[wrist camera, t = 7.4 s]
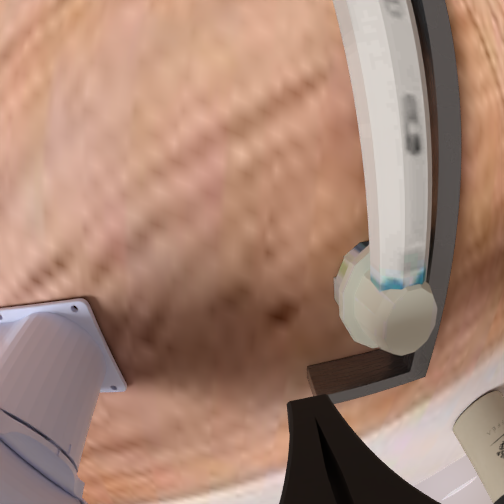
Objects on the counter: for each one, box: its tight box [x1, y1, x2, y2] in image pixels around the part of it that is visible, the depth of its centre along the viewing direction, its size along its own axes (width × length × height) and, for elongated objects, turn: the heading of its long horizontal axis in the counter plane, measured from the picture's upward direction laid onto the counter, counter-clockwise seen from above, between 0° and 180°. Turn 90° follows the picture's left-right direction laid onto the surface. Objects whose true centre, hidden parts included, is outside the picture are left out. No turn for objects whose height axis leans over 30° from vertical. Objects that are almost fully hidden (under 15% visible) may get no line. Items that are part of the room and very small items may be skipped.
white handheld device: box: [333, 0, 437, 356], centre depth 14 cm, size 5×7×25 cm
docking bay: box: [307, 0, 461, 404], centre depth 15 cm, size 8×31×3 cm, turn 7°
